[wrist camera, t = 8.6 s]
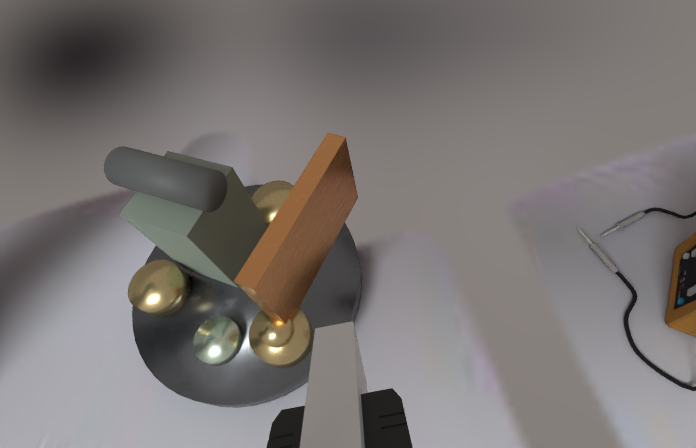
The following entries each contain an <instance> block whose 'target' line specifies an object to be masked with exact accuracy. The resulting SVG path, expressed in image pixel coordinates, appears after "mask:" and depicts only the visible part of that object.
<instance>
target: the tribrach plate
mask: <svg viewBox="0 0 696 448" xmlns="http://www.w3.org/2000/svg"><path fill="white" fill-rule="evenodd" d="M293 187H294V186H293V185H291V184H290V183H288V182H285V181H272V182H270V183H266V184H264V185H253V186H247V187H245V189H246V190H247V192H248V194H249V195H250V197H251V199H252V200H253V202H254V203H255V205H256V207H257V208H258V210H259V212H260V213H261V215H262V216H263V218H264V219H263V222H264V223H265V225H266V226H267V228H268V226H269V225H270V223H271V222H272V220H273V219H274V217H275V215H276V214H277V212H278V211H279V209H280V207H281V206H282V204H283V203H284V201H285V200H286V198H287V196H288V195H289V193H290V192H291V190H292V189H293ZM361 284H362V277H361V267H360V262H359V258H358V254H357V251H356V247H355V243H354V240H353V238H352V236H351V233H350V231H349V229H348V228H347V226H346V224H345V223H344V224H343V226H342V228H341V230H340V232H339V234H338V236H337V238H336V239H335V241H334V243H333V245H332V247H331V249H330V251H329V253H328V254H327V256H326V258H325V260H324V262H323V264H322V266H321V268H320V269H319V271H318V273H317V275H316V277H315V279H314V281H313V282H312V284H311V286H310V288H309V290H308V292H307V294H306V296H305V297H304V299H303V301H302V303H301V305H300V307H299V308H300V309H301V310H302V312H303V313H304V314H305V316H306V317H307V318H308V320H309V321H310V323H311V325H312V327H313V331H314V333H315V328H320V327H326V326H331V325H336V324H341V323H346V322H352V321H353V322H354V321H355V317H356V314H357V311H358V308H359V302H360V297H361ZM128 297H129V300H130V302H131V303H132V304H133V311H132V318H133V331H134V336H135V341H136V344H137V347H138V350H139V353H140V355H141V357H142V359H143V360H144V362H145V364H146V366H147V367H148V368H149V370H150V371H151V372H152V373H153V375H154V376H155V377H156V378H157V379H158V380H159V381H160V382H162V383H163V384H164V385H165V386H166V387H167V388H169V389H171V390H172V391H174V392H176V393H177V394H179V395H181V396H184V397H187V398H189V399H192V400H195V401H198V402H202V403H206V404H211V405H215V406H220V407H246V406H254V405H258V404H262V403H266V402H270V401H273V400H275V399H278V398H280V397H283V396H285V395H287V394H289V393H291V392H292V391H294V390H296V389H298V388H299V387H301V386H303V385H304V384H305V383H307V382H308V379H309V372H310V364H311V356H312V349H313V345H312V348H311V350H310V352H309V354H308V355H307V356H306V357H305V359H304V360H302V361H301V362H300V363H298V364H297V365H295V366H293V367H290V368H276V367H273V366H271V365H269V364H267V363H266V362H264V361H263V360H261V359H260V358H259V357H257V356H256V355H255V354H254V352H253V351H252V349H251V347H250V343H249V329H250V326H251V323H252V321H253V319H254V318H255V316H256V315H257V314H258V313H259V312H260V311H261V310H262V309H261V308H260V307H259V306H258V305H257V304H256V303H255V302H254V301H253V300H252V299H251V298H250V297H249V296H248V295H247V294H246V293H245V292H244V291H243V290H242V289H241V288H240V287H239V288H238V287H235V286H232V285H229V284H227V283H224V282H221V281H218V280H216V279H213V278H210V277H207V276H205V275H202V274H199V273H196V272H194V271H191V270H188V269H185V268H183V267H182V266H180V265H179V264H178V263H177V262H176V261H174V260H173V259H172V258H171V257H170V256H168V255H167V254H166V253H165V252H164V251H163V250H161V249H160V248H159V247H158V246H157V245H156V246H155V248H154V250H153V251H152V253H151V255H150V256H149V258H148V260H147V262H146V264H145V265H144V266H143V267H142V268H140V269H139V270H138V271H137V272H136V274H135V275H134V276H133V278H132V280H131V282H130V284H129V288H128ZM313 341H314V340H313Z"/></svg>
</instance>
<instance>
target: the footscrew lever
mask: <svg viewBox="0 0 696 448" xmlns="http://www.w3.org/2000/svg"><path fill="white" fill-rule="evenodd" d="M357 198H358V195H357V191H356V186H355V181H354V176H353V171H352V166H351V161H350V156H349V151H348V147H347V142H346V138H345V137H342V136H338V135H334V134H330V133H327V135H326V137H325V138H324V140H323V141H322V143H321V144H320V146H319V148H318V149H317V151H316V152H315V154H314V155H313V157H312V159H311V160H310V162H309V163H308V165H307V166H306V168H305V170H304V171H303V173H302V174H301V176H300V178H299V179H298V181H297V182H296V184H295V185H294V187H293V189H292V190H291V192H290V193H289V195H288V196H287V198H286V200H285V201H284V203H283V204H282V206H281V207H280V209H279V211H278V212H277V214H276V215H275V217H274V219H273V220H272V222H271V223H270V225H269V226H268V228H267V230H266V231H265V233H264V234H263V236H262V237H261V239H260V241H259V242H258V244H257V245H256V247H255V248H254V250H253V252H252V253H251V255H250V256H249V258H248V260H247V261H246V263H245V264H244V266H243V267H242V269H241V271H240V272H239V274H238V275H237V277H236V278H235V280H234V282H235V283H236V284H237V285H238V286H239V287H240V288H241V289H242V290H243V291H244V292H245V293H246V294H247V295H248V296H249V297H250V298H251V299H252V300H253V301H254V302H255V303H256V304H257V305H258V306H259V307H260V308H261V309H262V310H261V311H260V312H259V313H258V314H257V315H256V316H255V318H254V319H253V321H252V323H251V326H250V329H249V343H250V347H251V349H252V351H253V352H254V354H255V355H256V356H257V357H259V358H260V359H261V360H263V361H264V362H266V363H267V364H269V365H271V366H273V367H276V368H290V367H293V366H295V365H297V364H298V363H300V362H301V361H302V360H304V359H305V357H306V356H307V355H308V354H309V352H310V350H311V348H312V345H313V340H314V331H313V327H312V325H311V323H310V321H309V320H308V318H307V317H306V316H305V314H304V313H303V312H302V310H301V309H300V308H299V307H300V305H301V303H302V301H303V299H304V297H305V296H306V294H307V292H308V290H309V288H310V286H311V284H312V282H313V281H314V279H315V277H316V275H317V273H318V271H319V269H320V268H321V266H322V264H323V262H324V260H325V258H326V256H327V254H328V253H329V251H330V249H331V247H332V245H333V243H334V241H335V239H336V238H337V236H338V234H339V232H340V230H341V228H342V226H343V224H344V223H345V221H346V219H347V217H348V215H349V213H350V211H351V209H352V208H353V206H354V204H355V202H356V200H357Z"/></svg>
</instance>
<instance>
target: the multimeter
mask: <svg viewBox="0 0 696 448" xmlns="http://www.w3.org/2000/svg"><path fill="white" fill-rule="evenodd" d="M651 211H661V212H665V213H668V214H671V215H674V216H676V217H678V218H682V219H686V218H690V217H693V216H695V215H696V212H694V213H692V214H690V215H687V216H682V215H679V214H677V213H674V212H671V211H668V210H665V209H661V208H651V209H648V210H646V211H644V212H640V213H637V214H635V215H633V216H632V217H630V218H628V219H626V220H624V221H622V222H621V223H617V224H616V225H615V226H616V227H615V228H613V229H611V230H609V231H607V232H606V233H604V234H602V235H601V236H600V237H602V236H605V235H607V234H609V233H611V232H612V231H614V230H616V229H618V230H621V229H623V227H625V226H627V225H629V224H631V223H633V222H635V221H636V220H638V219H640V218H642V217H643V216H644V215H645V214H647V213H649V212H651ZM577 229H578V231H579V232H580V233H581V234H582V235H583V237H584V238H585V239H586V240H587V241H588V242H589V243H590V244H591V246H590V248H591V249H593V251H594V252H595V253H596V254H597V255H598V256H599V257H600V258H601V260H602V261H603V262H604V263H605V264H606V265H607V266H608V267H609V269H611V270H612V271H613V272H614V273H616V274H617V275H618V276H619V277H620V278H621V279H622V281H623V282H624V283H625V284H626V285H627V286H628V288H629V289H630V290H631V292H632V294H633V300H632V302H631V304H630V305H629V307H628V309H627V311H626V313H625V316H624V326H625V330H626V334H627V337H628V340H629V342H630V345H631V346H632V348H633V350H634V351H635V352H636V354H637V355H638V356H639V357H640V358H641V359H642V360H643V361H644V362H645V363H646V364H647V365H648V366H650V367H651V368H652V369H654V370H655V371H656V372H658V373H659V374H661V375H662V376H664V377H666V378H667V379H669V380H670V381H672V382H674V383H675V384H677V385H679V386H681V387H683V388H686V389H689V390H692V391H696V387H691V386H688V385H686V384H683V383H681V382H679V381H678V380H676V379H674V378H673V377H671V376H669V375H668V374H666V373H665V372H663V371H662V370H660V369H659V368H657V367H656V366H655V365H653V364H652V363H651V362H650V361H648V360H647V359H646V358H645V357H644V356H643V355H642V354H641V353H640V351H639V350H638V349H637V347H636V346H635V344H634V342H633V339H632V337H631V333H630V330H629V325H628V317H629V314H630V312H631V310H632V308H633V306H634V305H635V303H636V300H637V294H636V291H635V290H634V288H633V287H632V286H631V284H630V283H629V282H628V281H627V280H626V279H625V277H624V276H623V275H622V274H621V273H620V272H619V270H618V269H617V267H616V266H615V265H614V263H613V262H612V261H611V260H610V259H609V258H608V257H607V256H606V255H605V253H604V252H603V251H602V250H601V249H600V248H599V247H598V246H597V243H595V244H593V243H592V242H591V241H590V240H589V238H588V237H587V236H586V235H585V234H584V233H583V232H582V231H581V230H580V229H579V228H577ZM673 261H674V265H673V272H672V280H671V288H670V295H669V303H668V310H667V313H666V320H665V322H666V324H667V325H668V326H669V327H670V328H673V329H676V330H679V331H682V332H684V333H687V334H690V335H693V336H696V232H695V233H694V234H693V235H692V236H691V237H689V238H688V239H687V240H686V241H684V242H683V243H682V244H681V245H679V246H678V247H677V248H676V250H675V253H674V258H673Z"/></svg>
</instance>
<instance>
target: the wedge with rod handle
mask: <svg viewBox="0 0 696 448" xmlns="http://www.w3.org/2000/svg"><path fill="white" fill-rule="evenodd" d="M104 171H105V174H106V177H107V178H108V180H109V181H110V182H111V183H113V184H115V185H118V186H122V187H125V188H128V189H132V190H135V191H137V192H136V193H135V194H134V195H133V197H132V198H131V199H130V201H129V202H128V203H127V204H126V206H125V207H124V208H123V210H122V211H121V212H120V213H119V215H121V216H122V217H123V218H124V219H125V220H127V221H128V222H129V223H130V224H131V225H133V226H134V227H135V228H136V229H137V230H139V231H140V232H141V233H142V234H143V235H145V236H146V237H147V238H148V239H149V240H151V241H152V242H153V243H154V244H155V245H157V246H158V247H159V248H160V249H161V250H163V251H164V252H165V253H166V254H167V255H168V256H170V257H171V258H172V259H173V260H174V261H176V262H177V263H178V264H179V265H180V266H182V267H183V268H185V269H188V270H191V271H194V272H196V273H199V274H202V275H205V276H207V277H210V278H213V279H216V280H218V281H221V282H224V283H227V284H229V285H232V286H235V287H238V288H239V286H238V285H237V284H236V283H235V282H234V280H235V278H236V277H237V275H238V274H239V272H240V271H241V269H242V267H243V266H244V264H245V263H246V261H247V260H248V258H249V256H250V255H251V253H252V252H253V250H254V248H255V247H256V245H257V244H258V242H259V241H260V239H261V237H262V236H263V234H264V233H265V231H266V230H267V226H266V225H265V223H264V222H263V219H264V218H263V216H262V215H261V213H260V212H259V210H258V208H257V207H256V205H255V203H254V202H253V200H252V199H251V197H250V195H249V194H248V192H247V190H246V189H245V187H244V186H243V184H242V182H241V181H240V179H239V177H238V176H237V174H236V173H235V171H234V169H233V168H232V167H229V166H225V165H221V164H217V163H213V162H209V161H205V160H201V159H197V158H193V157H189V156H185V155H181V154H177V153H173V152H169V151H168V152H167V153H166V154H165V156H164V157H163V156H159V155H155V154H152V153H148V152H144V151H140V150H136V149H132V148H128V147H118V148H116V149H114V150H112V151H111V152H110V153H109V155H108V156H107V158H106V160H105V165H104Z"/></svg>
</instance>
